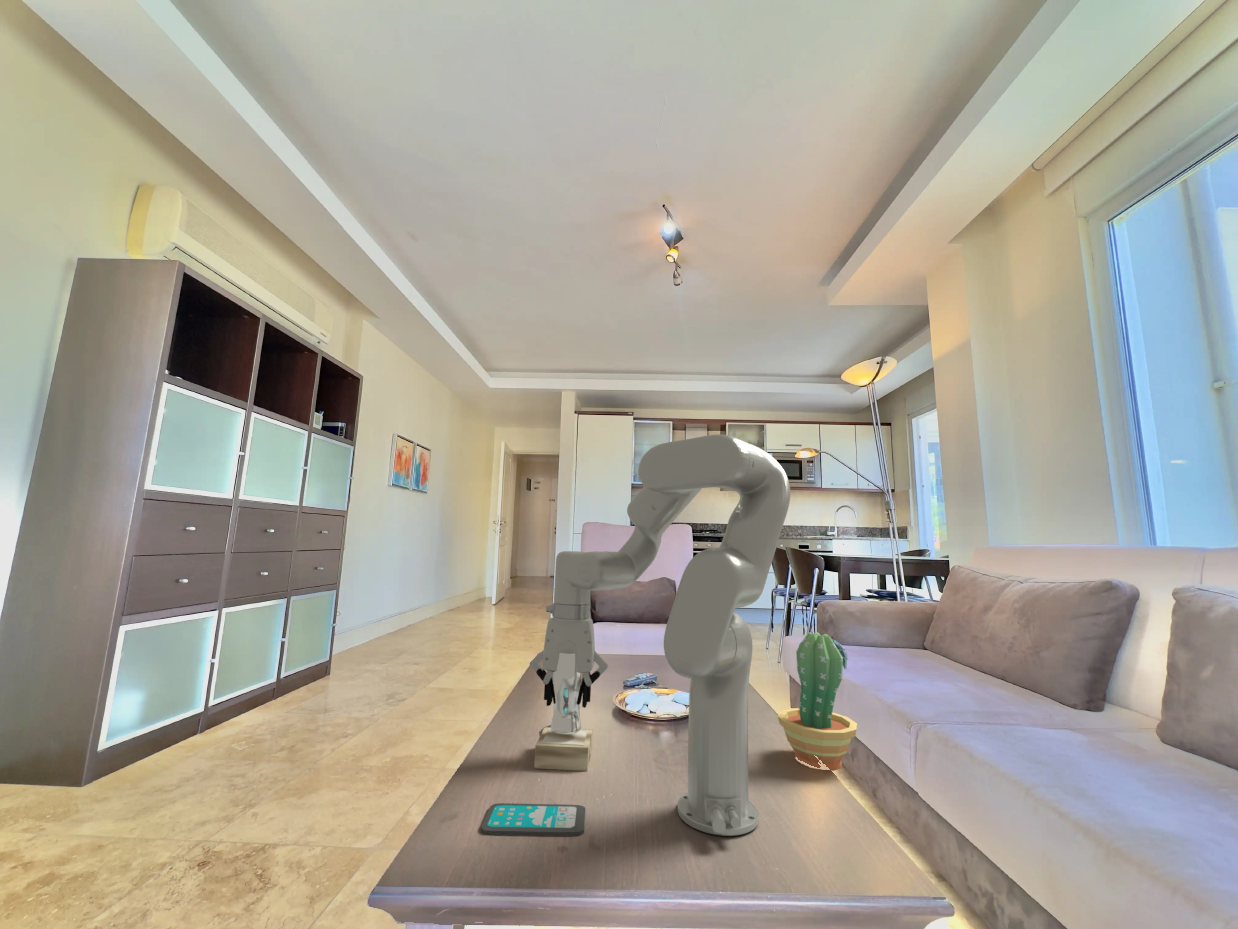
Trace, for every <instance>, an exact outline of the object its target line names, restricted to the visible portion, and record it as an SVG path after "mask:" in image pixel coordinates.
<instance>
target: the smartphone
mask: <svg viewBox="0 0 1238 929" xmlns="http://www.w3.org/2000/svg"><path fill="white" fill-rule="evenodd" d="M585 820H586V807H585V806H584V805H580V804H559V803H558V804H556V803H555V804H554V803H552V804H551V803H549V804H548V803H545V804H544V803H513V802H512V803H507V802H506V803H504V802H503V803H502V802H501V803H493V804H492V805H490V806H489V808H488V811H487V813H486V815H485V817H484V819H483V822H482V824H481V827H480V832H481V833H482V834H484V835H487V836H490V835H491V836H493V835H494V836H511V837H512V836H513V837H514V836H531V837H532V836H533V837H534V836H535V837H539V836H540V837H541V836H543V837H578V836H581V835H583V834H584V833H585Z"/></svg>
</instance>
